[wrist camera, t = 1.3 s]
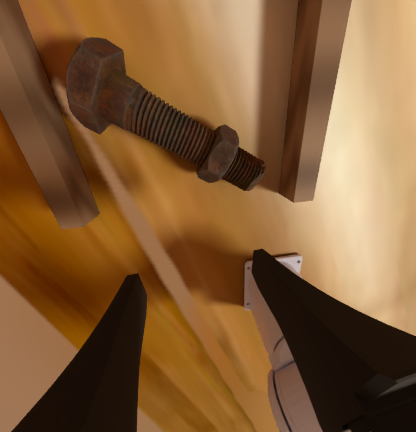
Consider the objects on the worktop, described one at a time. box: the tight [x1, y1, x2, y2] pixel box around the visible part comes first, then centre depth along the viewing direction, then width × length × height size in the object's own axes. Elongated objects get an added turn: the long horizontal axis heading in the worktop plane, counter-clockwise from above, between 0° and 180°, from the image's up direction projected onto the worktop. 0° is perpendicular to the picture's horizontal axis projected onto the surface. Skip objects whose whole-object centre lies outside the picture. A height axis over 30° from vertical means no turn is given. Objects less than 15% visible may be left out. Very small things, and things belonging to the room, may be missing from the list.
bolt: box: [66, 38, 265, 191], centre depth 14 cm, size 6×5×15 cm
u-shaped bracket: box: [0, 0, 352, 229], centre depth 13 cm, size 20×24×3 cm
